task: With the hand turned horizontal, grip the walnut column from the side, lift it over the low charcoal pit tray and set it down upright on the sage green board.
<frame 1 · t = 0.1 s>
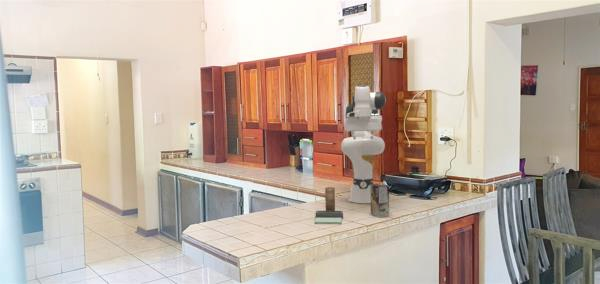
hand: (363, 139, 252), 39 cm above the counter, tool pointing down, fingers open, 8 cm apart
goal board: (328, 221, 230), on the counter
pit tray: (329, 217, 239), on the counter
coffee box: (379, 215, 242), on the counter
walnut column: (330, 213, 247), on the counter
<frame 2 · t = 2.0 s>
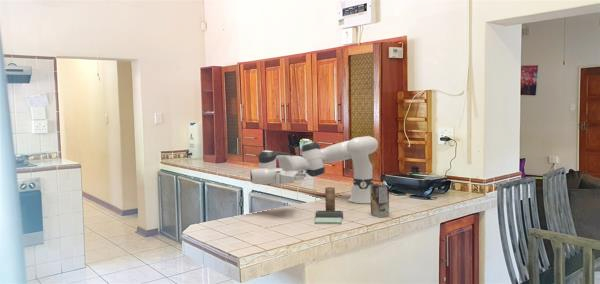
hand: (304, 176, 247), 20 cm above the counter, tool horizontal, fingers open, 8 cm apart
nothing on the counter moved.
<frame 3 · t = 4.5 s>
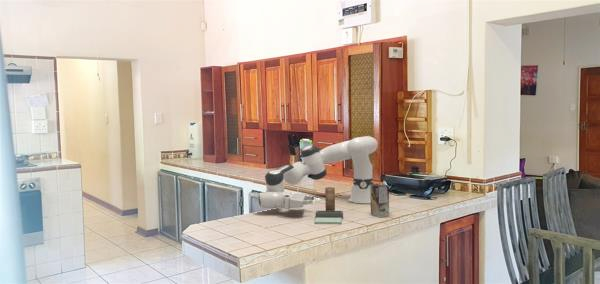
hand: (313, 200, 247), 7 cm above the counter, tool horizontal, fingers open, 8 cm apart
nothing on the counter moved.
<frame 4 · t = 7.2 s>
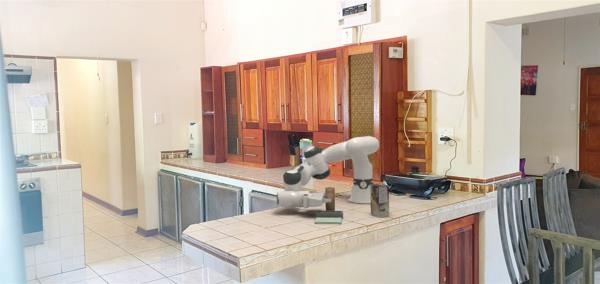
hand: (331, 199, 246), 8 cm above the counter, tool horizontal, fingers closed on walnut column, 5 cm apart
walnut column: (330, 213, 247), on the counter, touching gripper
everything else where it was.
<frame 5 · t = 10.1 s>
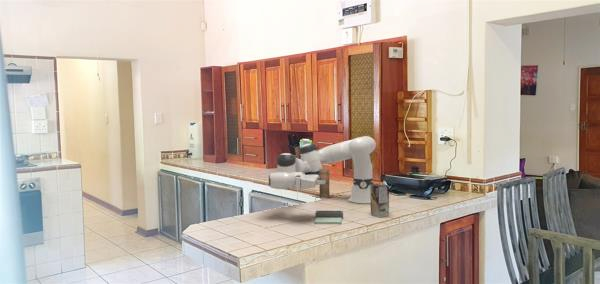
hand: (326, 181, 234), 20 cm above the counter, tool horizontal, fingers closed on walnut column, 5 cm apart
walnut column: (324, 196, 235), point 12 cm above the counter, touching gripper
everything else where it was.
when the fingers open (10 cm above the counter, at t = 12.8 s): walnut column drops 1 cm, resting on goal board.
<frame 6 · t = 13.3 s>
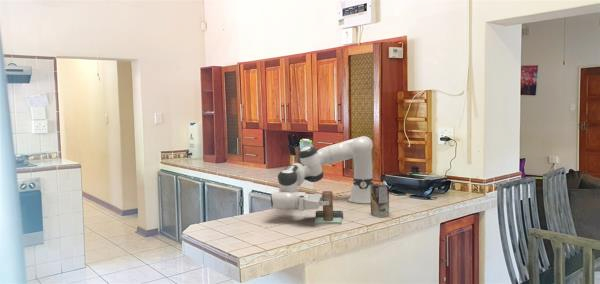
hand: (329, 201, 229), 10 cm above the counter, tool horizontal, fingers open, 8 cm apart
walnut column: (328, 219, 230), point 1 cm above the counter, touching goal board
everything else where it was.
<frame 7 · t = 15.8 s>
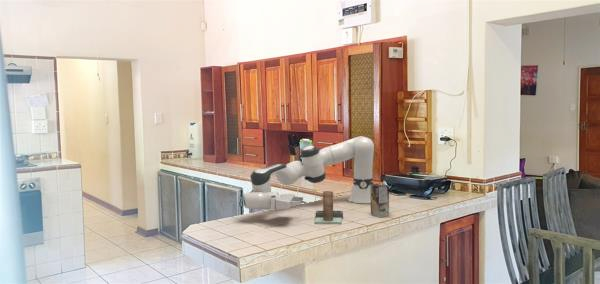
hand: (301, 200, 231), 10 cm above the counter, tool horizontal, fingers open, 8 cm apart
nothing on the counter moved.
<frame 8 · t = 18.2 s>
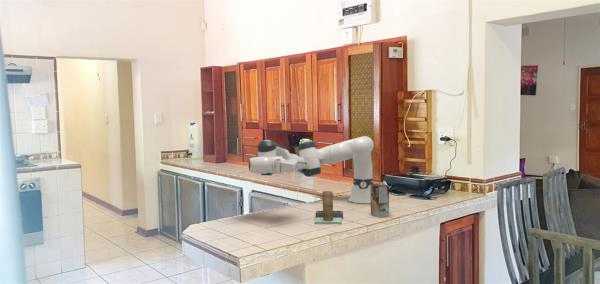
hand: (306, 164, 234), 28 cm above the counter, tool horizontal, fingers open, 8 cm apart
nothing on the counter moved.
at the end: walnut column inside the target area on the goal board (0.1 cm from its centre), point 1.0 cm above the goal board's base; walnut column tilted 1°; walnut column touching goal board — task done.
